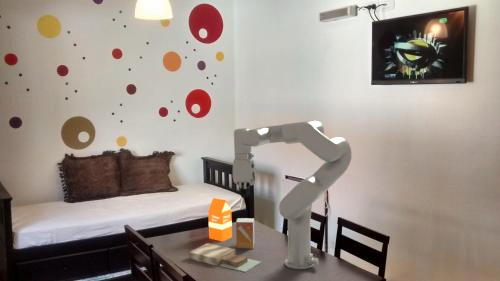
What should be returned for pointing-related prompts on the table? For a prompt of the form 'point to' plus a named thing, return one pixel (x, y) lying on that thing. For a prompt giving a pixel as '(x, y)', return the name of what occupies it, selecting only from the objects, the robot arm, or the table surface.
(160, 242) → the table surface
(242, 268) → the mat
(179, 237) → the table surface
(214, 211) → the orange juice
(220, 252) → the deck
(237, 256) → the tile
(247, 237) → the small box
